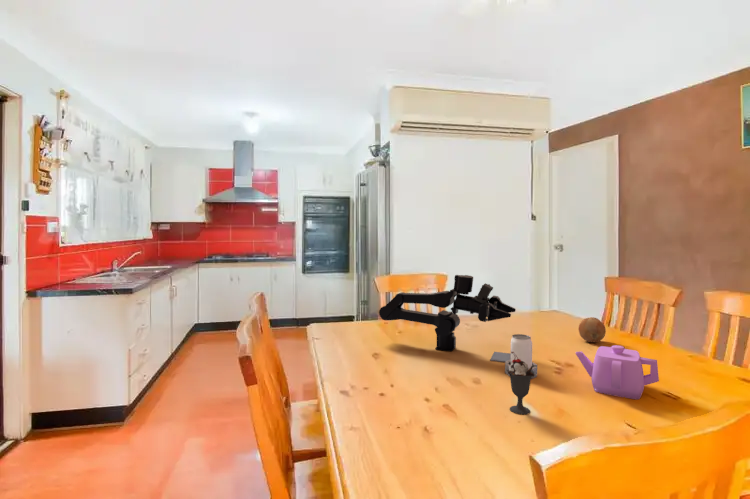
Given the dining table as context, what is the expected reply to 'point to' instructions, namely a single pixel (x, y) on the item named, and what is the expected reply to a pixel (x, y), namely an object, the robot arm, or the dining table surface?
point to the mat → (500, 357)
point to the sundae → (520, 383)
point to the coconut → (592, 329)
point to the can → (522, 348)
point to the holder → (508, 363)
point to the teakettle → (619, 371)
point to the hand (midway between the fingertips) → (513, 312)
